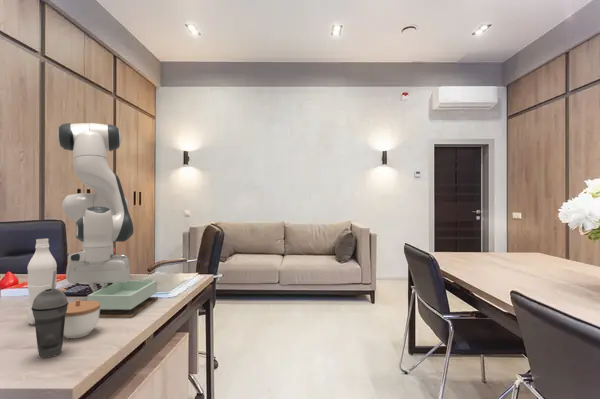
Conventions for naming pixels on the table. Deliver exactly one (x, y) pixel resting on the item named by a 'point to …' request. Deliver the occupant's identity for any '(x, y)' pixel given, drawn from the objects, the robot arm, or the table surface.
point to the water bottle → (40, 273)
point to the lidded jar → (81, 318)
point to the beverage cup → (50, 320)
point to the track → (126, 314)
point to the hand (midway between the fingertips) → (98, 295)
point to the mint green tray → (123, 294)
